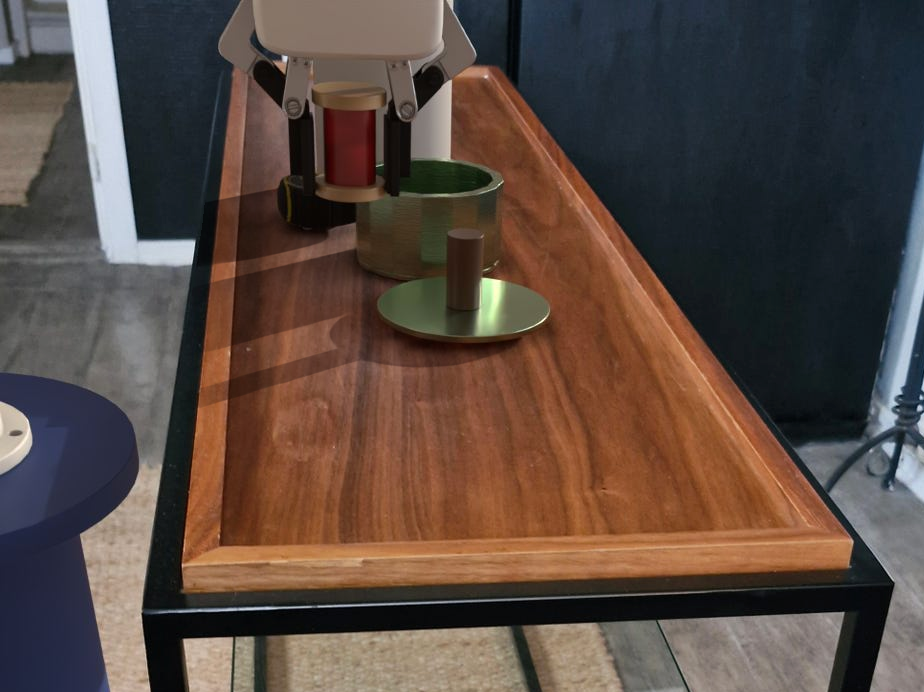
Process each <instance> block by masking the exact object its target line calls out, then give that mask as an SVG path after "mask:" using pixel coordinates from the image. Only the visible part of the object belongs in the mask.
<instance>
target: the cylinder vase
mask: <svg viewBox="0 0 924 692" xmlns="http://www.w3.org/2000/svg"><path fill="white" fill-rule="evenodd" d="M448 2H449V4H450V6H451V8H452V10H453V11H454V0H448ZM443 48H444V42H443V39H442V38H441V43H440V46H439V48H438V50H437V51H436V52H435V53H433V54H432V55H430V56H428V57H426V58H423V59H419V60H410V67H411V73H412V76H413V75H414V74H415V73H416V72H417V71H418V70H419V69H420V68H421V67H422V66H423V65H424V64H425V63H427V62H430V61H431V60H433V59H434V58H435V57H436V56H437V55H439V54H440V53H441V52H442V51H443ZM337 81H347V82H361V83H368V84H374V85H377V86H380V87H383V88H385V89H386V91H387V104H386V106H384V107H382V108H379V109H376V162H379V161H383V136H384V114H387V110H388V102H389V101H390V100H391V99H392V96H391V91H390V86H389V80H388V75H387V69H386V64H385V60H354V59H325V58H313V59H312V83H313V85H312V86H314V85H316V84H319V83H325V82H337ZM452 86H453V79H452V80H449V81H448V82H446V83H445V84H444V85H443V86H442V87H441V88H440V90H439V91H438V92H437V93H436V94H435V95H434V96H433V97H432V98H431V99H430V100H429V101H428V102H427V103H426V104H425V105H424V106H423V107H422V109H421V110H420V111H419V112H418V113H417V116H416V118H415V119H414V120H413V121H411V158H443V159H451V154H452V153H451V151H452V148H451V147H452V146H451V145H452V143H451V142H452V99H453V98H452V96H453V95H452V94H453V93H452V90H453V87H452ZM313 105H314V131H315V149H316V150H315V153H316V171H317V172H316V173H320V174H323V173H324V144H323V107H320V106H318V105H315V104H314V103H313Z"/></svg>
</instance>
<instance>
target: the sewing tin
mask: <svg viewBox="0 0 924 692" xmlns="http://www.w3.org/2000/svg"><path fill="white" fill-rule="evenodd" d="M376 175H377V176H380V177H382V178H383V161H379V162H376ZM504 182H505V181H504V179H503V177H502V175H501V174H500V172H499V171H496V170H494V169H492V168H490V167H488V166H487V165H486V166H485V165H483V164H479V163H474V162H470V161H466V160H462V159H461V160H460V159H452V158H450V159H443V158H411V174H410V178H400V195H399V197H390V194H387V192H386V195H385V196H384V197H383V198H381V199H378V200H375V201H369V202H355V210H356V222H355V240H356V242H355V243H356V253H357V261H358V263H359V264H360V266H361V267H362V268H364V269H365V270H366V271H368V272H371V273H373V274H374V275H378V276H381V277H385V278H389V279H393V280H398V281H405V282H410V281H414V280H419V279H425V278H433V277H446V265H447V232H448V231H450V230H452V229H458V228H470V229H476V230H479V231H481V232H483V233H484V248H483V276H485V275H487V274H490V273H491V272H493V271H494V270H495V269H497V267H498V265H499V263H500V259H501V254H502V253H501V251H502V228H503V227H502V226H503V208H504V207H503V202H504Z"/></svg>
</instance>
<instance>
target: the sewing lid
mask: <svg viewBox="0 0 924 692" xmlns="http://www.w3.org/2000/svg"><path fill="white" fill-rule="evenodd" d="M483 248H484V233H483V232H481V231H479V230H476V229H470V228H458V229H452V230H450V231H448V232H447V265H446V277H433V278H425V279H419V280H414V281H405V282H403V283H400V284H397V285H394V286H393V287H390V288H388V289H387V290H385V291H384V292H383V293H381V295H380V296H379V297H378V299H377V302H376V308H377V309H376V312H377V314H378V318H380V320H381V322H383V323H385V324H386V325H387V326H388V327H391V328H392V329H394V330H396V331H398V332H401V333H403V334H406V335H409V336H413V337H416V338H420V339H424V340H425V339H426V340H430V341H435V342H442V343H443V342H444V343H454V344H487V343H496V342H504V341H509V340H514V339H518V338H522V337H526V336H528V335H531V334H533V333H535V332H537V331H539V330H541V329H542V328H543V327H544V326H545V325H547V323H548V321H549V319H550V316H551V306H550V304H549V302H548V301H547V299H546V298H545V297H543V296H542V295H541V294H540V293H538V292H537V291H535V290H532V289H531V288H529V287H525V286H523V285H519V284H517V283H513V282H509V281H505V280H501V279H496V278H488V277H483V276H484V275H483Z"/></svg>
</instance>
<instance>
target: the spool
mask: <svg viewBox="0 0 924 692" xmlns="http://www.w3.org/2000/svg"><path fill="white" fill-rule="evenodd" d="M310 89H311V90H310V91H311V92H310V93H311V94H310V95H311V103H312V104H313V105H314V104H315V105H318V106H320V107H323V144H324V173H323V174H320V175H318V176H316V177H315V179H316V195H318V196H320V197H322V198H325V199H328V200H333V201H339V202H369V201H375V200H378V199H381V198H383V197H384V196H385V195H386V181H385V179H384V178H382V177H380V176H377V175H376V109H379V108H382V107H384V106H386V104H387V91H386V89H385V88H383V87H380V86H377V85H374V84H368V83H361V82H347V81H337V82H325V83H319V84H316V85H314V86H313V85H312V86H311V88H310Z"/></svg>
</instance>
